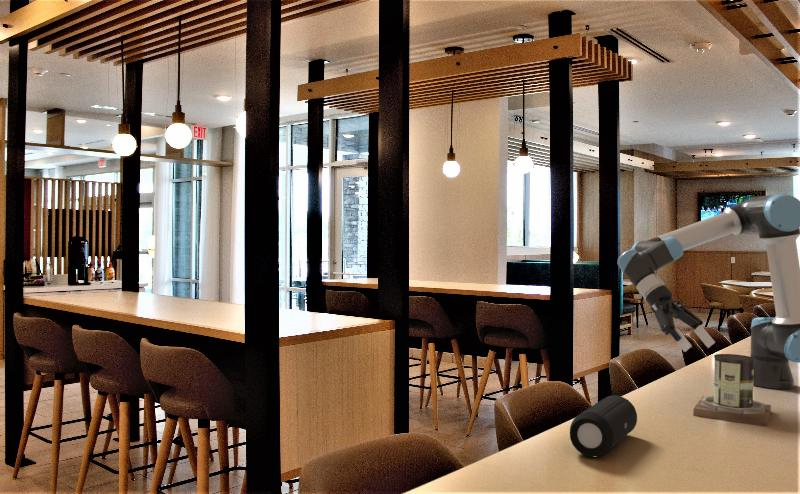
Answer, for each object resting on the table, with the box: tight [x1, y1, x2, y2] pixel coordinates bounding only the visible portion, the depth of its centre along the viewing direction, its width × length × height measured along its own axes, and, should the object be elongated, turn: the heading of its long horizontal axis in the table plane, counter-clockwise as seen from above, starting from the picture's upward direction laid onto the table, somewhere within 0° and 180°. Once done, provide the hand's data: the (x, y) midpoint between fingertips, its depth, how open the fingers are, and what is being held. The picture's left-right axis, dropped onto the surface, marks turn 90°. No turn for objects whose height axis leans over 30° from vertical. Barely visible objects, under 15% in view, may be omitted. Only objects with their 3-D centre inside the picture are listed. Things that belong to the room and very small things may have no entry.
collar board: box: [692, 395, 772, 427], centre depth 195 cm, size 18×18×3 cm
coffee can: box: [713, 353, 755, 409], centre depth 195 cm, size 10×10×14 cm
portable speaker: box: [569, 394, 638, 457], centre depth 162 cm, size 26×10×10 cm, turn 147°
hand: (700, 347), depth 203 cm, fingers open, 13 cm apart
